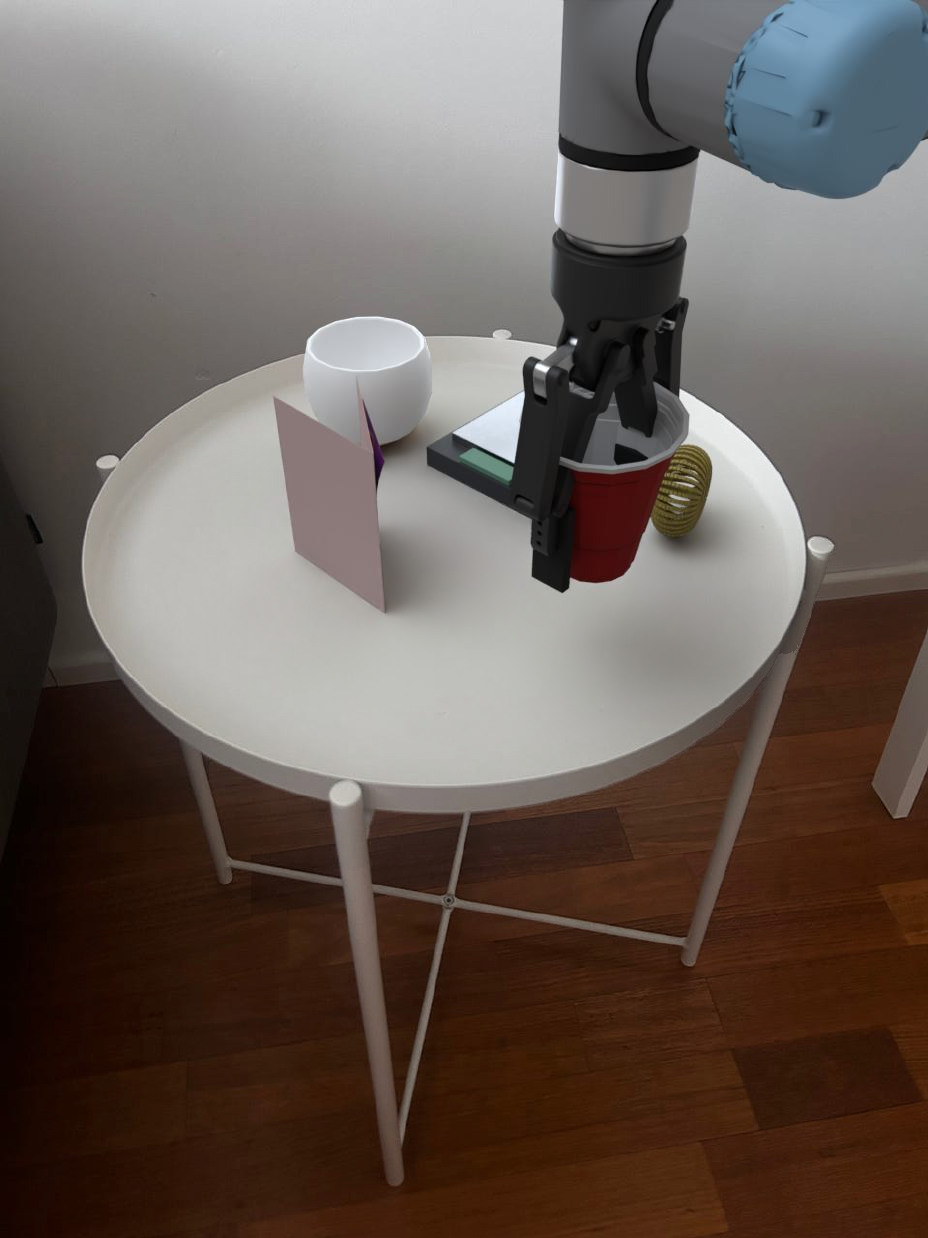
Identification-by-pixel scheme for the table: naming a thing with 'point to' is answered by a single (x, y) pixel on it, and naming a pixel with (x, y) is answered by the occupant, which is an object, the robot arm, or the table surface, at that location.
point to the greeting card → (334, 498)
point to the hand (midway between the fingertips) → (588, 552)
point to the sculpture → (683, 491)
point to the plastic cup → (620, 487)
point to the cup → (368, 376)
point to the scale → (482, 450)
